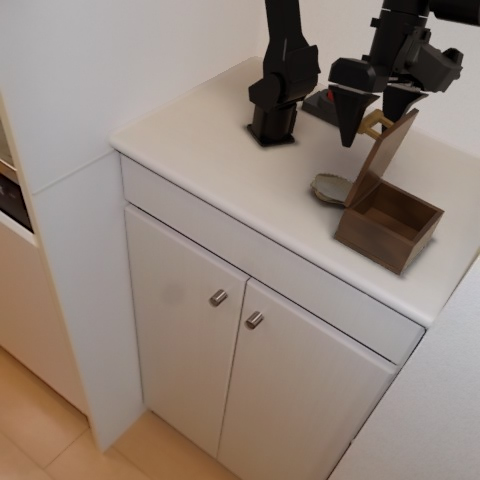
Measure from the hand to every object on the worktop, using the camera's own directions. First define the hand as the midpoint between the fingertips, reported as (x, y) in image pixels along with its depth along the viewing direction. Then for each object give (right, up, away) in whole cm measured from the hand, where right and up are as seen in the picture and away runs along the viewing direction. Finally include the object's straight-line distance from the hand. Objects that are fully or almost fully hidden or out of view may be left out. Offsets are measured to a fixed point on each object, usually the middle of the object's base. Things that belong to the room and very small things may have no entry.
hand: (366, 143), depth 72 cm
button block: (0, +14, +27) cm, 30 cm away
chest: (+3, -12, +5) cm, 14 cm away
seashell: (-3, -5, +10) cm, 11 cm away
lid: (+2, -3, -3) cm, 4 cm away
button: (0, +16, +24) cm, 29 cm away
